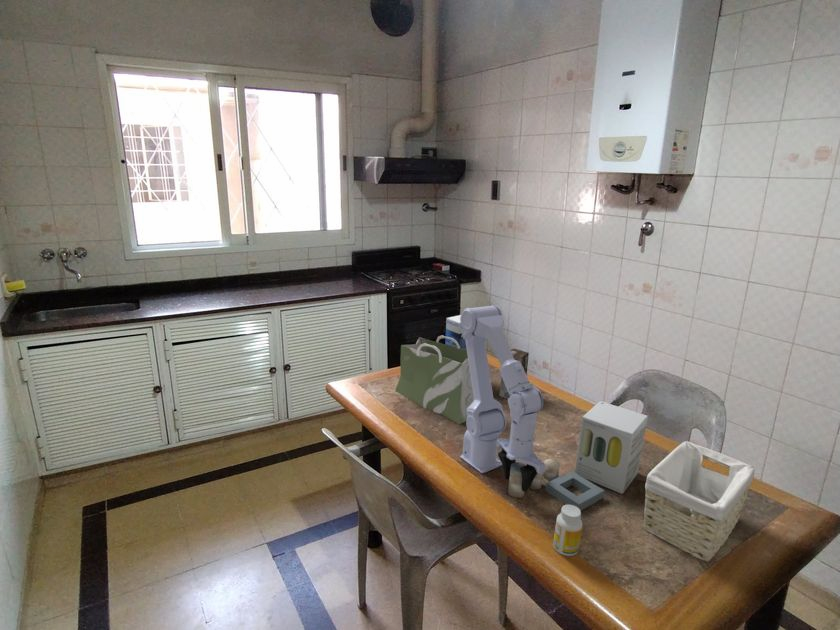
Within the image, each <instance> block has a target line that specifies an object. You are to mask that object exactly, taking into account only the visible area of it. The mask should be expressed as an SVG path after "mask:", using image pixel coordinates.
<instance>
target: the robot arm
mask: <svg viewBox="0 0 840 630" xmlns="http://www.w3.org/2000/svg"><path fill="white" fill-rule="evenodd" d="M460 315H461V317H460V322H461V328H462V335H463V339H465V341H466V347H467V354H468V361H469V368H470V375H471V382H472V388H473V395H474V401H473V403H472V404H471V405H470V406H469V407H468V408H467V420H466V421H465V422H466V423H465V425H466V428H467V429H466V431H465V433H464V435H463V441H462V442H463V444H462V454H461V455H460V456H459V457H460V458H461V460H463V461H464V462H466V463H467V464H468V465H470V466H471V467H472V468H473V469H475V470H477V471H478V472H479V473H480V474H486V473H487V472H490V471H491V470H494V469H497V468H499V467H502V469H503V474H504V479H505V480H509V478H510V468H511V464H512V463H515V462H517V461H518V462H519V463H523V464H525V465H526V466H523V467H521V468H520V471H521V474H522V491H524V493H526V492H527V491H528V490H530V489H531V488H530V486H531V484H532V482H533V480H534V478H535V476H536V475H537V474H538V473H539V474H540V473H543V472H545V467H546V464H544V461H542V460H541V459H540V458H539V457H538V456H537V454H536V453H535V452H534V451H533V448H534V441H535V432H536V423H537V414H538V413H537V412H539V411H541V410H542V409H543V406H544V398H543V396H542V393H541V391H540V390H539V388H537V387H536V386H535V385H534V384H533V383H531V381H530V379H529V377H528V374H527V375H526V373H525V371H524V369H523V367H522V364H521V362H519V361H517V360H515V359H514V358H513V355H512V352H511V350H512V349H511V346H510V344H509V341H508V339H507V337H506V333H505V330H504V325H505V318H504V314H503V312H502V310H501V308H500V307H499V306H498V305H497V304H492V305H486V306H479V307H466V308H464V310H463V311H462V313H461V314H460ZM486 341H488V343H489V345H490V347H491V349H492V351H493V352H494V354H495V356H496V358H497V359H498V362H499V363H500V367H499V371H498V372H499V374H500V378H501V377H502V379H503V381H504V384H505V386H506V388H507V390H508V393H509V395H510V398H508V399H507V404H508V407H509V412H510V413H509V416H510V419H511V423H510V433H509V440H508V439H506V438H504V437H499V436H501V435H502V432H503V431H505V430H506V428H507V416H506V414H505V412H504V409H503V404H502V403H500V402H499V401H498V400H497V399H495V398H494V393H493V386H492V379H491V372H490V367H489V361H488V359H489V357H488V351H487V347H486V346H487V345H486ZM482 411H483V412H482ZM499 448H501V451H500V452H498V450H499Z"/></svg>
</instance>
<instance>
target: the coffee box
mask: <svg viewBox="0 0 840 630" xmlns="http://www.w3.org/2000/svg"><path fill="white" fill-rule="evenodd" d="M511 352H512V355H513V358H514V359H515V360H517V361H519V362H521V364H522V367H523V369H524V371H525V373H526V375H527V376H528V366H529V365H528V364H529V351H528V352H527V351H523V350H521V349H517V348H512V349H511ZM498 395H499V397H500V396H501V397H500V398H503V397H504V398H503V399H506V398H507V399H506V400H508V398H510V395H509V393H508V390H507V388H506V386H505V384H504V381H503V379H502V377H501V376H500V387H499V394H498Z"/></svg>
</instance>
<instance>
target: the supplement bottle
mask: <svg viewBox="0 0 840 630" xmlns="http://www.w3.org/2000/svg"><path fill="white" fill-rule="evenodd" d="M581 511H582V510H581ZM581 511H580V509H579V508H578V507H576V506H574V505H566V504H565V505H563V506H561V510H560V513H559V514H557V516H556V520H555V527H554V534H553V541H552V542H553V543H552V544H553V548H554V550H555V551H556V552H557V553H558V554H560V555H563V556H567V557H572V556H575V555H577V553H578V552H579V550H580V543H581V536H582V532H583V531H582V530H583V521H582V519H581V517H582V512H581Z"/></svg>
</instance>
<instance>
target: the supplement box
mask: <svg viewBox="0 0 840 630" xmlns="http://www.w3.org/2000/svg"><path fill="white" fill-rule="evenodd" d="M648 419H649V415H646V414H644V413H643V414H642V413H640V412H637V411H633V410H630V409H627V408H624V407H623V406H622V407H621V406H618V405H614V404H611V403H609V402H605V401H602V400H600V401H599V402H597V403H596V404H595V405H594V406H592V407H591V408H590V410H588V411H587V412H586V413H585V414H583V416H582V418H581V423H580V424H581V425H580V431H579V439H578V445H577V446H578V447H577V452H576V453H577V454H576V461H575V467H574V468H575V470H574V472H575V473H576V474H578V475H580V476H581V477H583V478H584V479H586V480H588V481H589V482H591V483H595V484H597V485H600V486H602V487H605V488H607V489H609V490H612V491H614V492H616V493H619V494H620V495H622V494H624V493H625V491H626V490H627V489H628V488H629V486H631V485H630V484H632V482H633V481H634V479H635V478H636V476H637V475H638V474H639V468H640V463H641V458H642V457H641V456H642V453H643V445H644V440H645V436H646V435H645V434H646V430H647V425H648Z"/></svg>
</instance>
